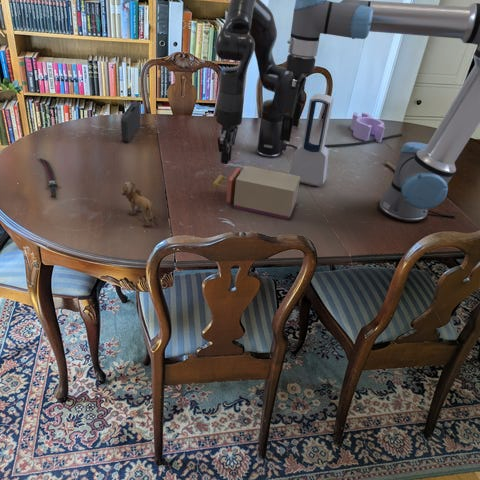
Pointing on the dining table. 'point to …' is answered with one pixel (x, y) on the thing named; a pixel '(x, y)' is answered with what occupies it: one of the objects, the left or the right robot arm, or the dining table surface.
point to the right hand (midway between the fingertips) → (289, 132)
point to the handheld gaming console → (130, 121)
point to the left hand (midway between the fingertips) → (225, 161)
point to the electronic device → (313, 147)
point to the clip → (367, 127)
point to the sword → (52, 181)
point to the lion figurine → (137, 201)
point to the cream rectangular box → (266, 192)
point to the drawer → (230, 184)
